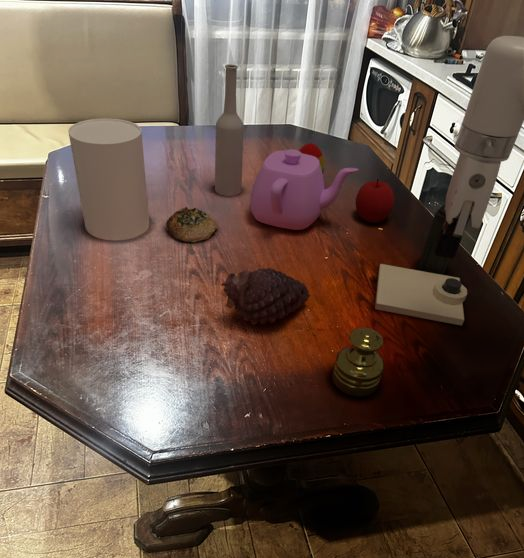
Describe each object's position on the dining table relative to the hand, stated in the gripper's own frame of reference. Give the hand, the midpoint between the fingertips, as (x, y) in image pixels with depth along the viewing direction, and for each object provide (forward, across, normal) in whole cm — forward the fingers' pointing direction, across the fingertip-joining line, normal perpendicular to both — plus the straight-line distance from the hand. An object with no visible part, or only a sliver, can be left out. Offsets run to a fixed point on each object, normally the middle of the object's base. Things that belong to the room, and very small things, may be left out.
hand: (443, 254), depth 84 cm
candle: (+15, +20, -2) cm, 25 cm away
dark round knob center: (+12, +9, -5) cm, 16 cm away
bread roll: (+15, +16, +50) cm, 54 cm away
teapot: (+15, +31, +31) cm, 46 cm away
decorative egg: (+15, +51, +31) cm, 61 cm away
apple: (+15, +38, +12) cm, 42 cm away
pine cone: (+15, -7, +27) cm, 32 cm away
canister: (+15, +13, +66) cm, 68 cm away
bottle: (+15, +38, +48) cm, 64 cm away
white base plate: (+15, +9, 0) cm, 17 cm away
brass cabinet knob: (+15, -18, +10) cm, 26 cm away
